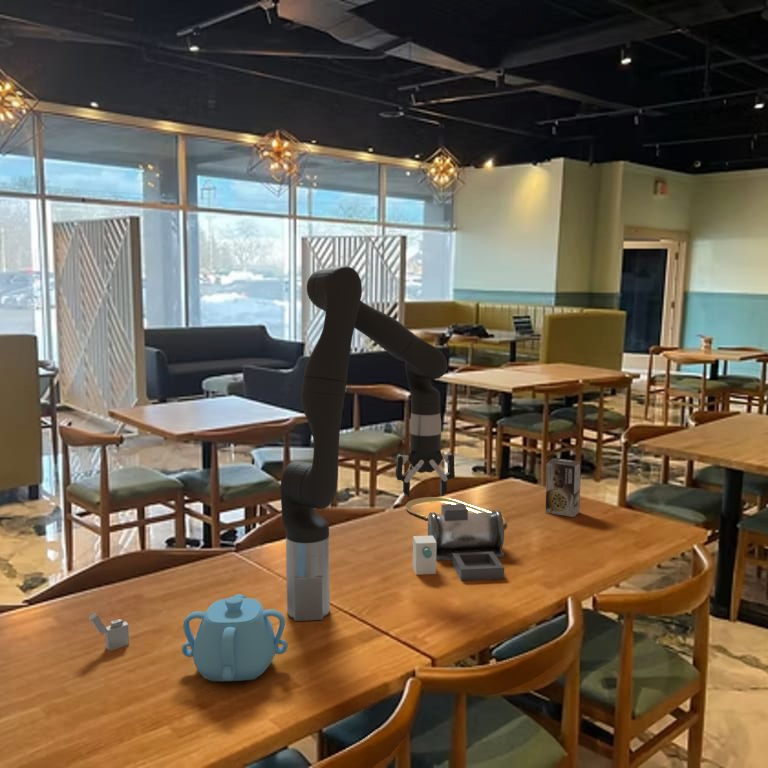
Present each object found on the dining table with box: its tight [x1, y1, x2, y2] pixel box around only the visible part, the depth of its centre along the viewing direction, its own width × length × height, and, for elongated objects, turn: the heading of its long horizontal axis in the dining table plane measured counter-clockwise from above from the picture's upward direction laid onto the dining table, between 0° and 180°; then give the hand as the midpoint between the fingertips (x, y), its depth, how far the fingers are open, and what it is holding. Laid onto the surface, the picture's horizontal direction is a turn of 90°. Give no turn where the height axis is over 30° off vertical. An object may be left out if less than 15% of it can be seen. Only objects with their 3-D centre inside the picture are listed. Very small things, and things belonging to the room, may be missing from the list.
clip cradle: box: [451, 551, 505, 582], centre depth 188 cm, size 13×11×3 cm
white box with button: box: [412, 535, 437, 576], centre depth 186 cm, size 7×5×8 cm
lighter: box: [88, 612, 130, 652], centre depth 147 cm, size 7×2×8 cm, turn 130°
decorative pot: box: [181, 593, 289, 682], centre depth 140 cm, size 16×16×14 cm
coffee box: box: [545, 457, 582, 518], centre depth 231 cm, size 9×6×16 cm
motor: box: [427, 503, 505, 561], centre depth 200 cm, size 12×18×12 cm, turn 97°
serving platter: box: [405, 496, 506, 526], centre depth 228 cm, size 19×35×2 cm, turn 39°
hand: (424, 495), depth 185 cm, fingers open, 8 cm apart
